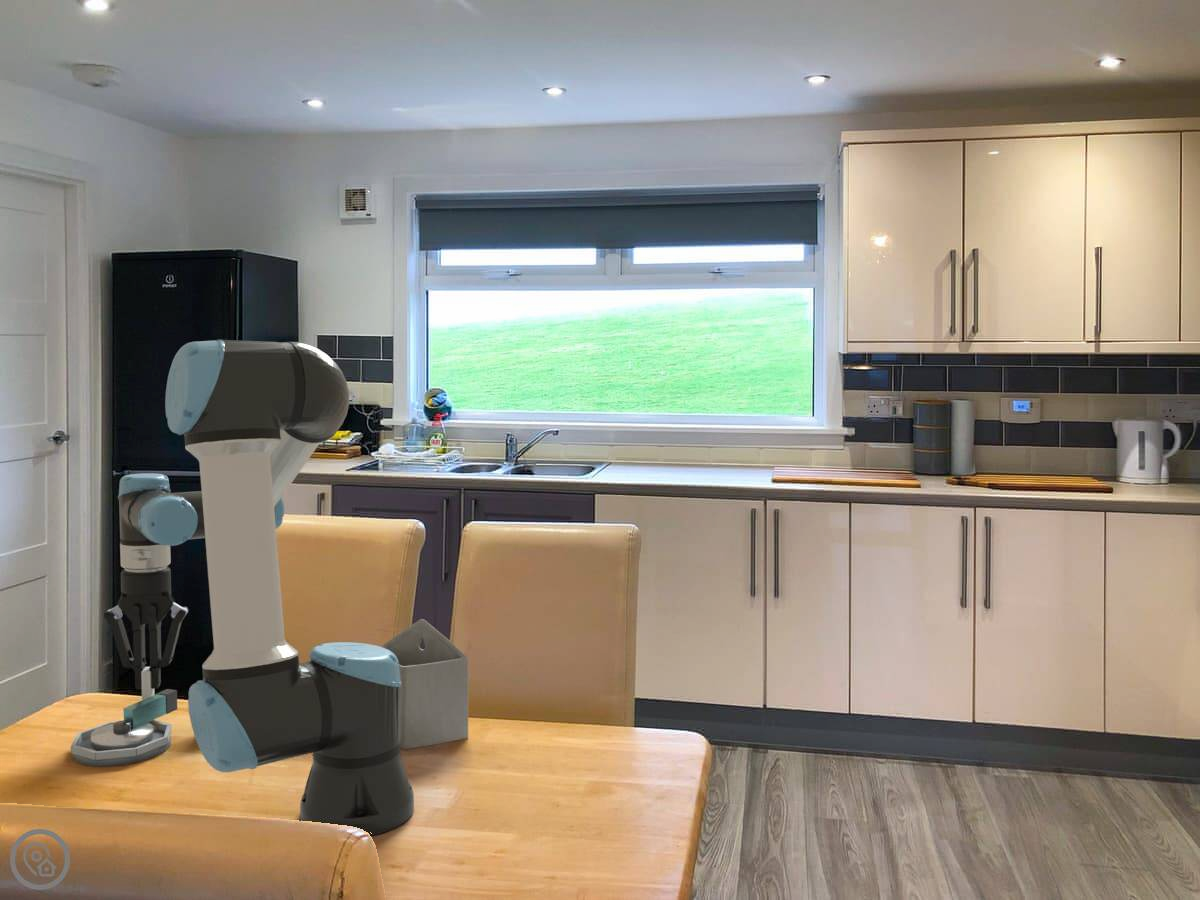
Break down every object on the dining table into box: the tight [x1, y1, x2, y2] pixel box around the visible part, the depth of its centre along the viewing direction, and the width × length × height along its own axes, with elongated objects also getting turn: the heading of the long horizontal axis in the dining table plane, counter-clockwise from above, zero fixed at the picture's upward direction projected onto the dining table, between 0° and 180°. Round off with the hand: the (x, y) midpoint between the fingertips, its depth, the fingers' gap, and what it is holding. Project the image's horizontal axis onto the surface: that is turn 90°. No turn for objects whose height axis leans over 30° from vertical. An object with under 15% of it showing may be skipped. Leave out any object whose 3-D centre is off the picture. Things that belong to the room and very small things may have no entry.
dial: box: [91, 688, 178, 751], centre depth 163 cm, size 16×9×5 cm, turn 161°
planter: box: [380, 618, 469, 751], centre depth 164 cm, size 16×8×19 cm, turn 75°
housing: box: [70, 719, 172, 768], centre depth 161 cm, size 14×14×2 cm
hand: (148, 707), depth 169 cm, fingers closed
